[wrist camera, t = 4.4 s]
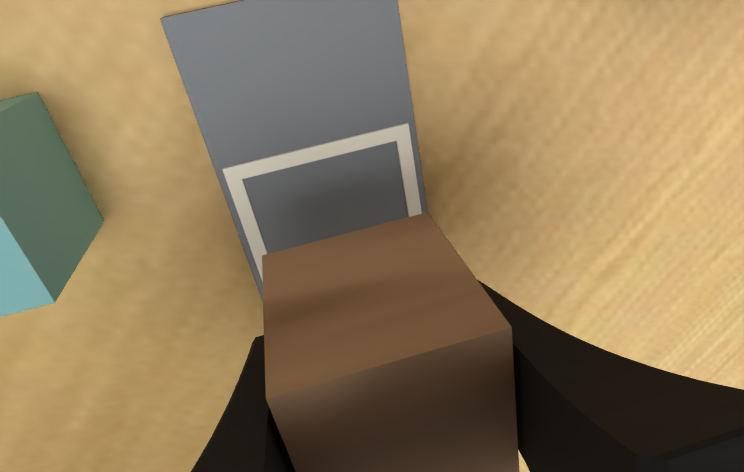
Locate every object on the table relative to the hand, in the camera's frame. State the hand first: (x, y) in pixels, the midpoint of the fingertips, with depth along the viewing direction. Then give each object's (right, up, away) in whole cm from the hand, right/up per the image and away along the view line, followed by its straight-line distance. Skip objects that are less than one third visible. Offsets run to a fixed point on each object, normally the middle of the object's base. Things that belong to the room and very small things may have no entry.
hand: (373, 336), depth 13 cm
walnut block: (0, +1, +1) cm, 2 cm away
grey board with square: (-1, +3, +6) cm, 7 cm away
